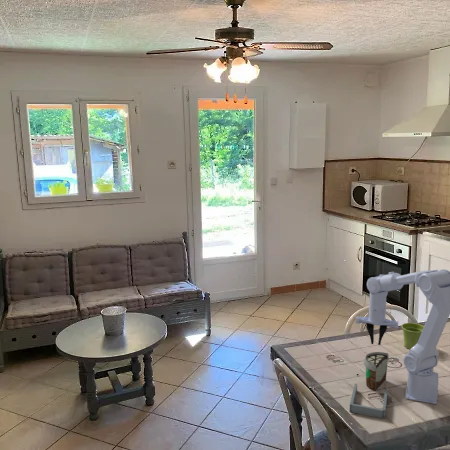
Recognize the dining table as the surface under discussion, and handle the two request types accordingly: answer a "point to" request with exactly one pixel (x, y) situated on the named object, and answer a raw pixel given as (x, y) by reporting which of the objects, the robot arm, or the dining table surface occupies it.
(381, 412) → the bay
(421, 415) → the dining table surface
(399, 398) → the dining table surface
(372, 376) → the food container
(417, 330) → the plant pot
